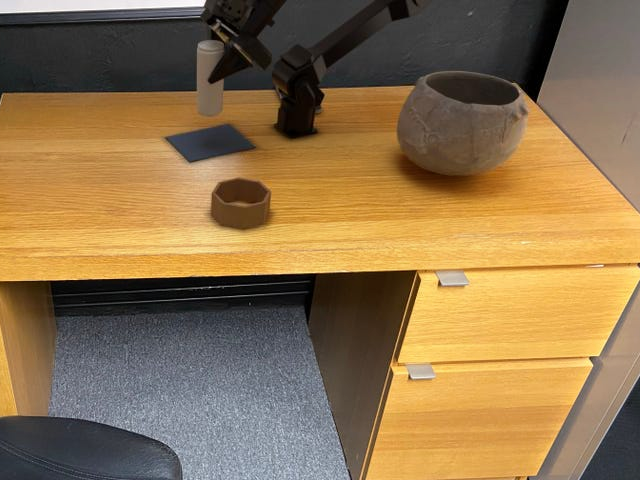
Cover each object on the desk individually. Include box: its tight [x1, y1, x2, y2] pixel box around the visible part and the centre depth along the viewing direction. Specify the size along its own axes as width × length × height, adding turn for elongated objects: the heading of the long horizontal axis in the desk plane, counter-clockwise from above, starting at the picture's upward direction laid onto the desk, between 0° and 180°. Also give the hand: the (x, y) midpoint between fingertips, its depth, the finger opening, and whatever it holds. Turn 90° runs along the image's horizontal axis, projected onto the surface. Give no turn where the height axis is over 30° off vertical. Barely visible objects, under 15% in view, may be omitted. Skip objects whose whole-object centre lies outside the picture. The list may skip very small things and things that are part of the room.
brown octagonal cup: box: [210, 177, 272, 230], centre depth 113 cm, size 9×9×4 cm
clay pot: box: [396, 70, 531, 176], centre depth 121 cm, size 21×21×15 cm
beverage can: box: [196, 39, 225, 118], centre depth 124 cm, size 5×5×12 cm
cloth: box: [165, 123, 257, 163], centre depth 133 cm, size 14×11×1 cm
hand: (203, 77), depth 123 cm, fingers closed on beverage can, 5 cm apart
